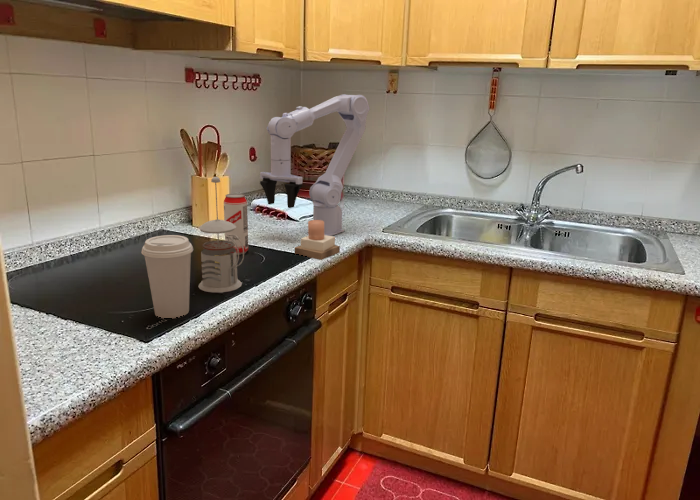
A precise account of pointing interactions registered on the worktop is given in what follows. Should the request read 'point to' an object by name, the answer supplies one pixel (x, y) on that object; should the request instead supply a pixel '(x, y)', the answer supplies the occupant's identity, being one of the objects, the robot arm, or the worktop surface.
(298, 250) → the walnut base slab
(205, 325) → the worktop surface
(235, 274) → the french press
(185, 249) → the coffee cup
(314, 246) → the cream slab
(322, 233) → the terracotta cylinder
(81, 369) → the worktop surface
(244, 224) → the beer can
